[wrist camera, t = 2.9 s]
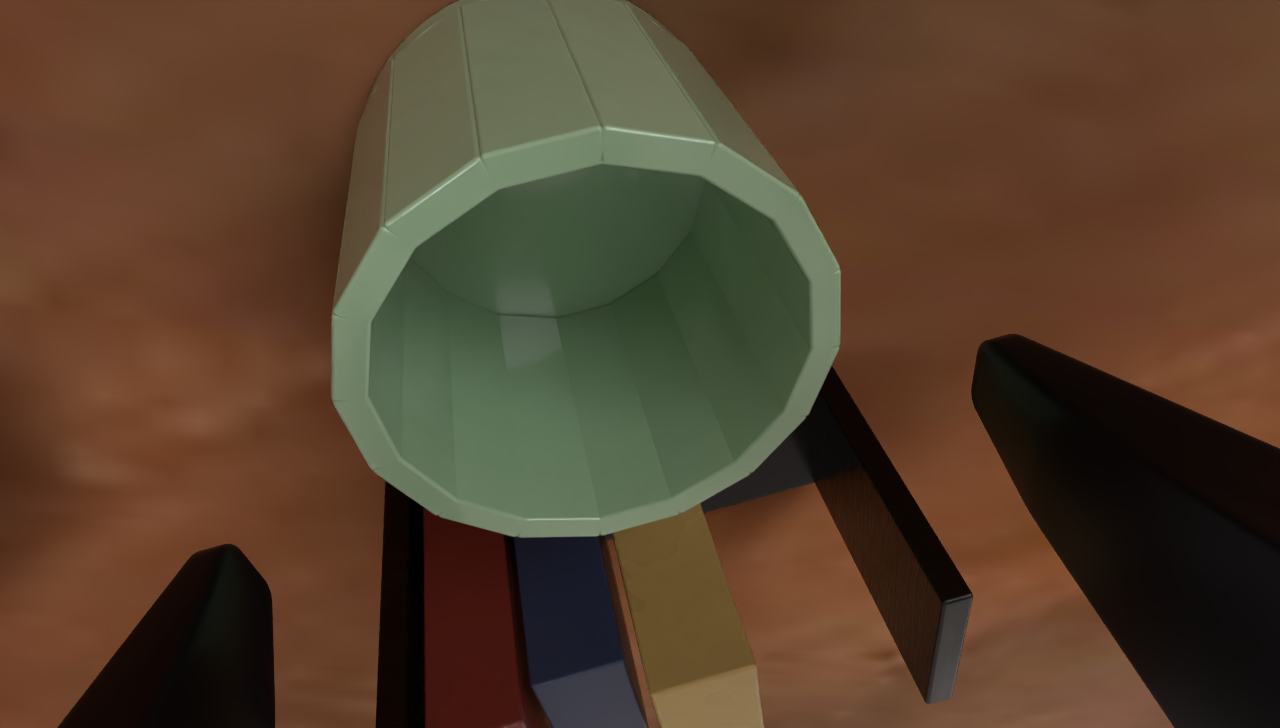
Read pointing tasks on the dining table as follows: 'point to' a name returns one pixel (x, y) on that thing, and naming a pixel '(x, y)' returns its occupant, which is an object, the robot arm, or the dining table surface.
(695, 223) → the pale green cup
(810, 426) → the book rack
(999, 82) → the dining table surface
